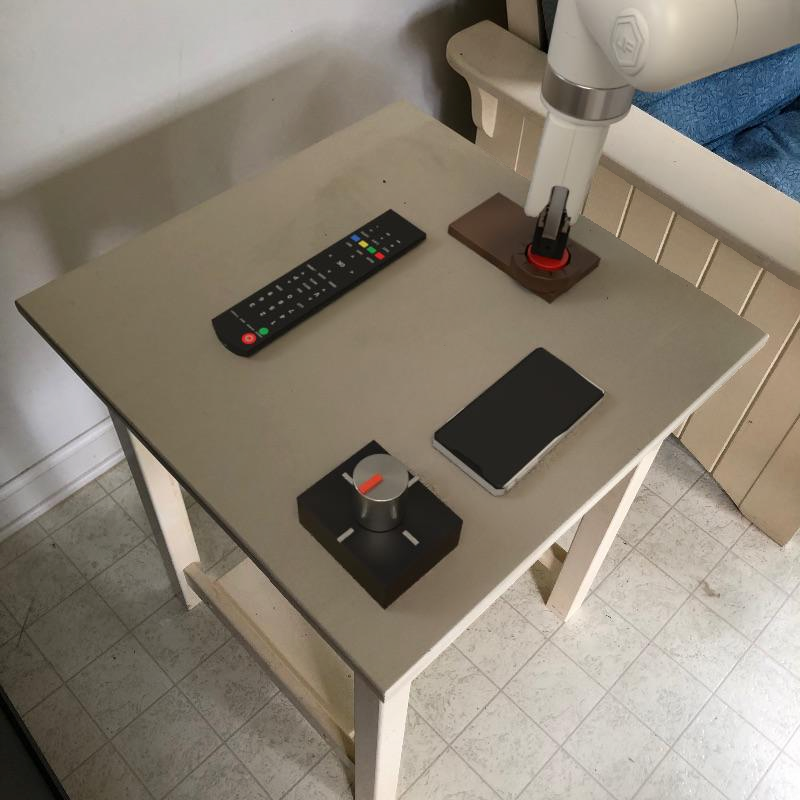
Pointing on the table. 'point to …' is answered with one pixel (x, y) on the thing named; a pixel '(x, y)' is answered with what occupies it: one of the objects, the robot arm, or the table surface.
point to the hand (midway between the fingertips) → (547, 251)
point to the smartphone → (517, 420)
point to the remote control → (315, 283)
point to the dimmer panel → (379, 551)
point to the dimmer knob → (380, 492)
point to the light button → (547, 261)
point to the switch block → (518, 247)
